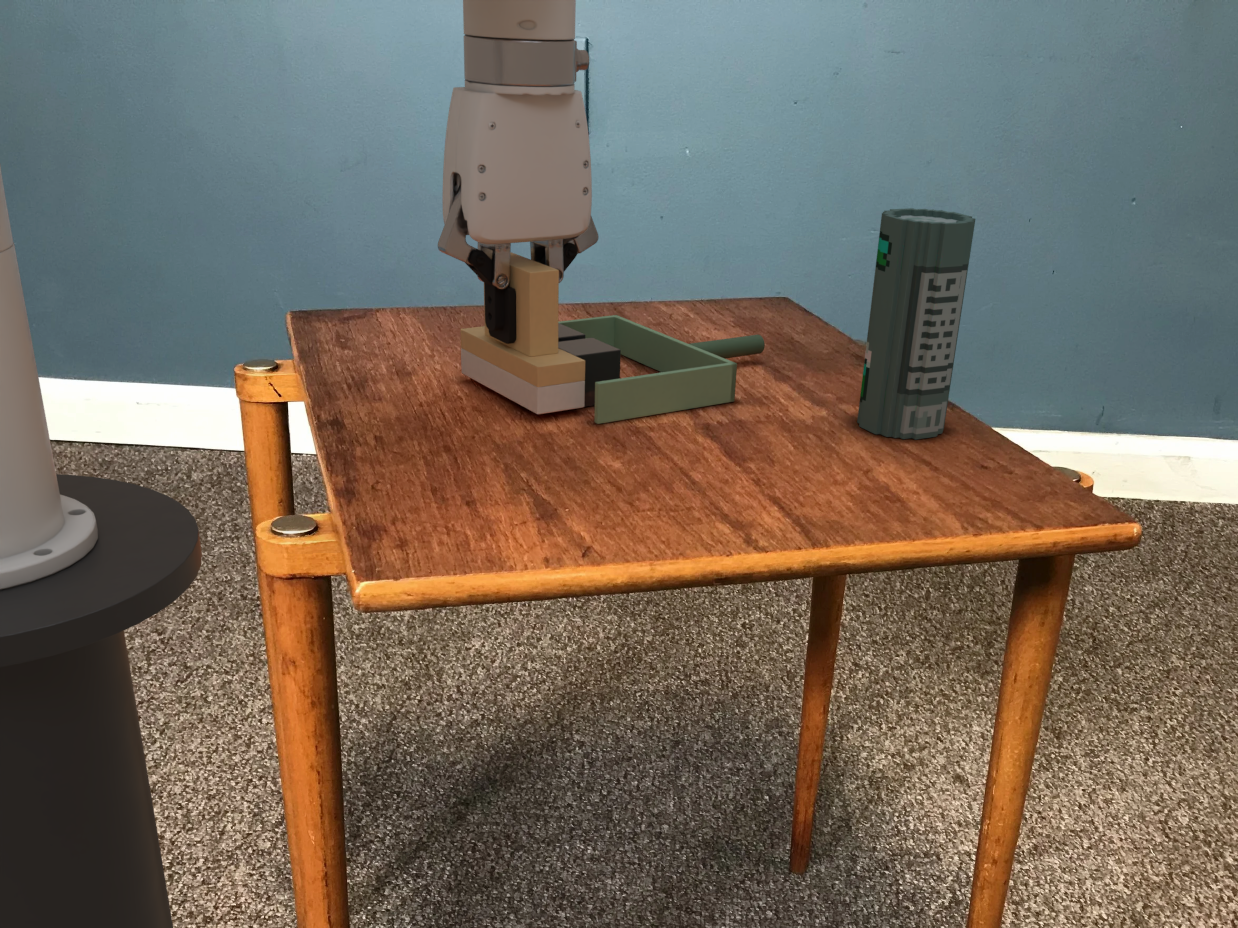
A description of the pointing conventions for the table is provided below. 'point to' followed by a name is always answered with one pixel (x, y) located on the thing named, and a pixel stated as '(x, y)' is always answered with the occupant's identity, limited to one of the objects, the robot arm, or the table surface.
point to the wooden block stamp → (527, 347)
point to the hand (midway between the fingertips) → (520, 335)
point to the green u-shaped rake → (664, 369)
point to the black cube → (594, 362)
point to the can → (914, 321)
